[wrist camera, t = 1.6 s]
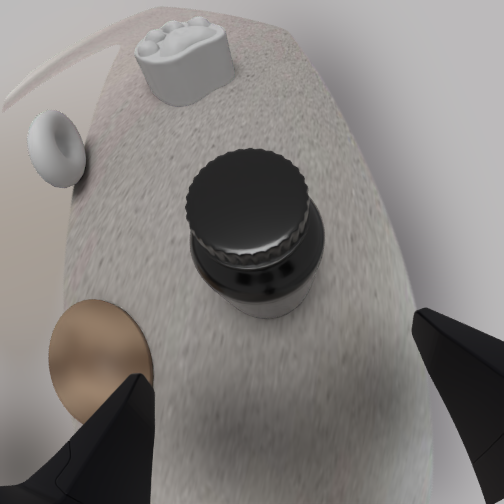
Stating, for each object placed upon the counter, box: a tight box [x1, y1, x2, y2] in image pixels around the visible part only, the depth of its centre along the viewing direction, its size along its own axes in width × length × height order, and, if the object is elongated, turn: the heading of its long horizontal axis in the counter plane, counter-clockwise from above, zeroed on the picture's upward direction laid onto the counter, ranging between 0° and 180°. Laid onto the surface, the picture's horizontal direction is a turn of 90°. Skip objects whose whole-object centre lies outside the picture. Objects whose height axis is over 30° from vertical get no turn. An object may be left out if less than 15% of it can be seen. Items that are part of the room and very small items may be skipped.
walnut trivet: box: [49, 299, 153, 424], centre depth 20 cm, size 12×12×1 cm
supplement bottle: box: [185, 148, 325, 318], centre depth 16 cm, size 7×7×12 cm
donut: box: [27, 110, 86, 188], centre depth 24 cm, size 10×4×10 cm, turn 19°
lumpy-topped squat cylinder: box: [134, 16, 235, 107], centre depth 28 cm, size 10×13×9 cm
